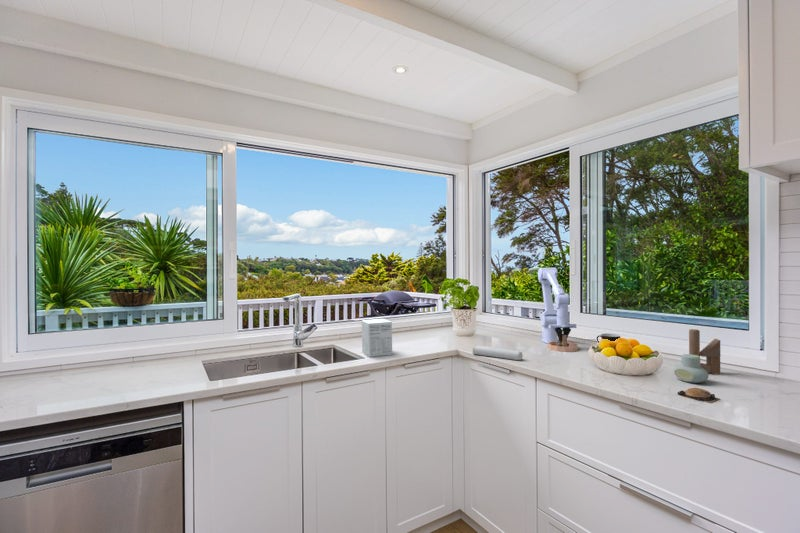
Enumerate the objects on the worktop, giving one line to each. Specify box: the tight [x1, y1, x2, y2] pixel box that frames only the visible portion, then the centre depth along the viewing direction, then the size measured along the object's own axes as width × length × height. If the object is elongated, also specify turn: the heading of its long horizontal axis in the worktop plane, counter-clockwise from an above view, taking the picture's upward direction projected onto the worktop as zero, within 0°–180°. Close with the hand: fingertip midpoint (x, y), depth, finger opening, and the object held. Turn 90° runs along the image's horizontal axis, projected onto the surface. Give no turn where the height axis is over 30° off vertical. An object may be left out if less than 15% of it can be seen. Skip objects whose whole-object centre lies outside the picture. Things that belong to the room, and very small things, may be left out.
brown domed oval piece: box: [677, 387, 721, 404], centre depth 136 cm, size 11×8×4 cm
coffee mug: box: [596, 333, 621, 344], centre depth 200 cm, size 12×9×10 cm
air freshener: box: [673, 353, 709, 384], centre depth 154 cm, size 11×8×10 cm
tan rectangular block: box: [558, 333, 568, 347], centre depth 214 cm, size 5×2×7 cm, turn 3°
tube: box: [472, 344, 524, 362], centre depth 197 cm, size 5×5×25 cm
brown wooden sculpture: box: [688, 328, 721, 375], centre depth 165 cm, size 4×11×18 cm, turn 80°
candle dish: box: [547, 340, 579, 353], centre depth 214 cm, size 15×15×3 cm
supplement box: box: [361, 318, 393, 358], centre depth 210 cm, size 13×13×18 cm
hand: (562, 341), depth 214 cm, fingers closed on tan rectangular block, 2 cm apart
